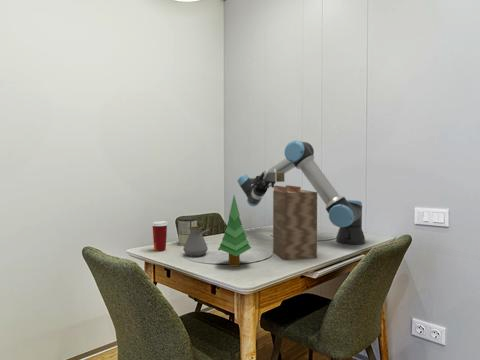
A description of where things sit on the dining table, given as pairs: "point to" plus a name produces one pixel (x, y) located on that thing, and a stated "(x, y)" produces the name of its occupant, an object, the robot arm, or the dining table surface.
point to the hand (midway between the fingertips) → (270, 171)
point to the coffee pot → (197, 241)
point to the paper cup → (159, 235)
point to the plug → (275, 176)
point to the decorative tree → (234, 237)
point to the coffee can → (185, 228)
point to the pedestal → (294, 223)
